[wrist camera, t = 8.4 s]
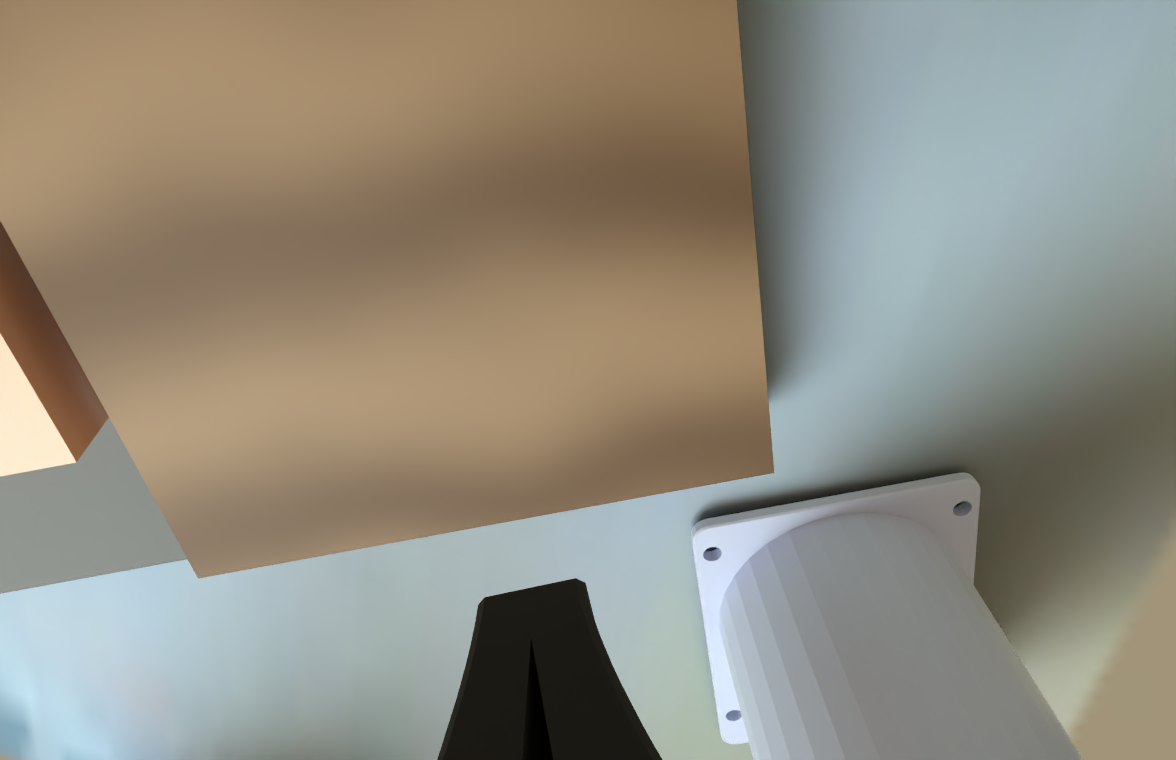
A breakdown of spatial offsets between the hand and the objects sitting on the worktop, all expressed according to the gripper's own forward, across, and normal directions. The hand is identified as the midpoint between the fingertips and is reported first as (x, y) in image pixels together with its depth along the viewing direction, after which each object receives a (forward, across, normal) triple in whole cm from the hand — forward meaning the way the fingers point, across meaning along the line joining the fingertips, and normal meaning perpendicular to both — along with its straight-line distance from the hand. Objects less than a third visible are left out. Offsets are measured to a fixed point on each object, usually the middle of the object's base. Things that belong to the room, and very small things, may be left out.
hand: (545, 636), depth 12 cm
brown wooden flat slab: (+11, +2, -2) cm, 11 cm away
